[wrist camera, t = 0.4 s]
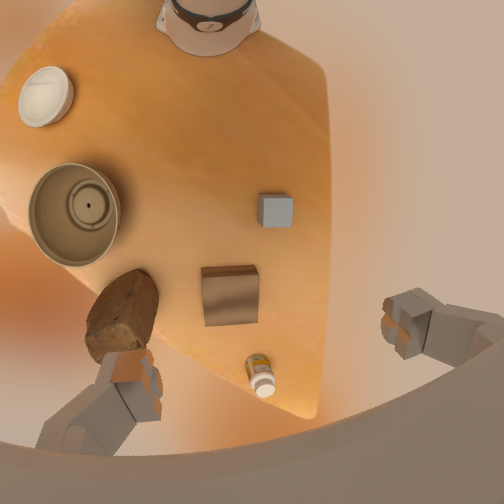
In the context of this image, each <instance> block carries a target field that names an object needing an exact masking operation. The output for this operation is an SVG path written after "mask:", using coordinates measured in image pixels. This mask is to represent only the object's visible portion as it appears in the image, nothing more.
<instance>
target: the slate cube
mask: <svg viewBox="0 0 504 504" xmlns="http://www.w3.org/2000/svg"><path fill="white" fill-rule="evenodd" d="M292 214H293V198H292V197H290V196H288V195H286V194H258V222H259V224H260V225H261V226H262V227H263V228H275V227H292Z"/></svg>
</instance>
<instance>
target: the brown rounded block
mask: <svg viewBox="0 0 504 504" xmlns="http://www.w3.org/2000/svg"><path fill="white" fill-rule="evenodd" d="M158 302H159V295H158V293H157V290H156V287H155V285H154V283H153V281H152V280H151V279H150V277H149V276H147V275H145V274H144V273H142V272H141V271H140V270H134V271H131V272H129V273H127V274H124V275H123V276H121V277H119V278H118V279H117V280H115V281H114V282H113V283H111V284H110V285H109V286H108V287H106V288H105V289H104V290H103V291H102V293H101V294H100V295H99V297H98V298H97V300H96V302H95V303H94V305H93V306H92V308H91V311H90V312H89V314H88V317H87V320H86V323H87V325H86V327H87V332H86V336H85V343H86V346H87V347H88V351H89V353H90V355H91V357H92V358H93V359H94V360H95V361H96V363H98V364H102V361H103V359H104V356H105V354H107V353H112V352H122V351H133V350H143V349H146V344H147V343H148V342H149V340H150V337H151V333H152V330H153V325H154V320H155V317H156V314H157V309H158Z"/></svg>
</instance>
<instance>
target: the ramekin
mask: <svg viewBox="0 0 504 504" xmlns="http://www.w3.org/2000/svg"><path fill="white" fill-rule="evenodd" d="M73 98H74V88H73V85H72V82H71V81H70V79H69V77H68V75H67V74H66V72H65V71H64V70H62V69H61V68H59V67H56V66H48V67H44V68H42V69H40V70H38V71H37V72H35V73H34V74H33V75H32V76H31V77H30V78H29V79H28V80H27V81H26V83H25V84H24V86H23V88H22V90H21V93H20V96H19V101H18V110H19V115H20V117H21V119H22V121H23V122H24V123H25V124H26V125H28V126H30V127H43V126H45V125H48V124H52V123H55V122H57V121H59V120H60V119H61V118H62V117H63V116H64V115H65V114H66V113H67V112H68V110H69V109H70V106H71V105H72V102H73Z"/></svg>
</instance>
